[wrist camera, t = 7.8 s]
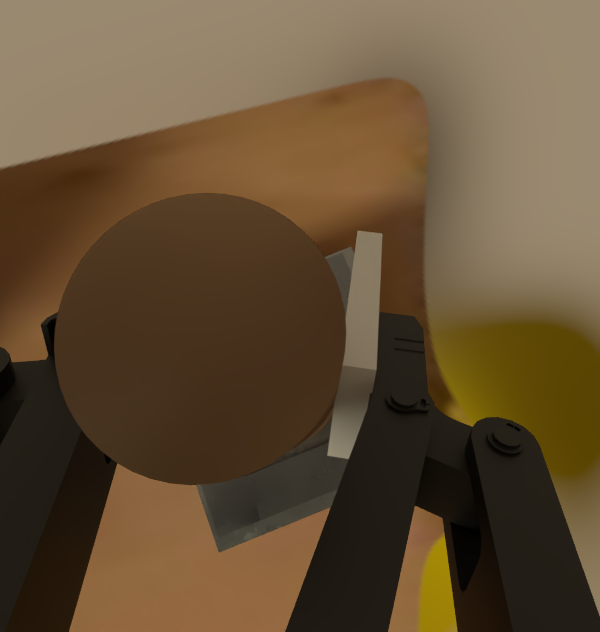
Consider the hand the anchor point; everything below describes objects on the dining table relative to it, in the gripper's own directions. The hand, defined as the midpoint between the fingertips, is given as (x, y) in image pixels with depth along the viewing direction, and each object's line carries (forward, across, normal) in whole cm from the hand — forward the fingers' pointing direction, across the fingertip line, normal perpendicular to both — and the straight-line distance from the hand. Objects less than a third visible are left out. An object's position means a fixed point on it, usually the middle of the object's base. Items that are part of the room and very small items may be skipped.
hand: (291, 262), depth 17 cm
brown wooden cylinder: (+1, 0, -6) cm, 6 cm away
